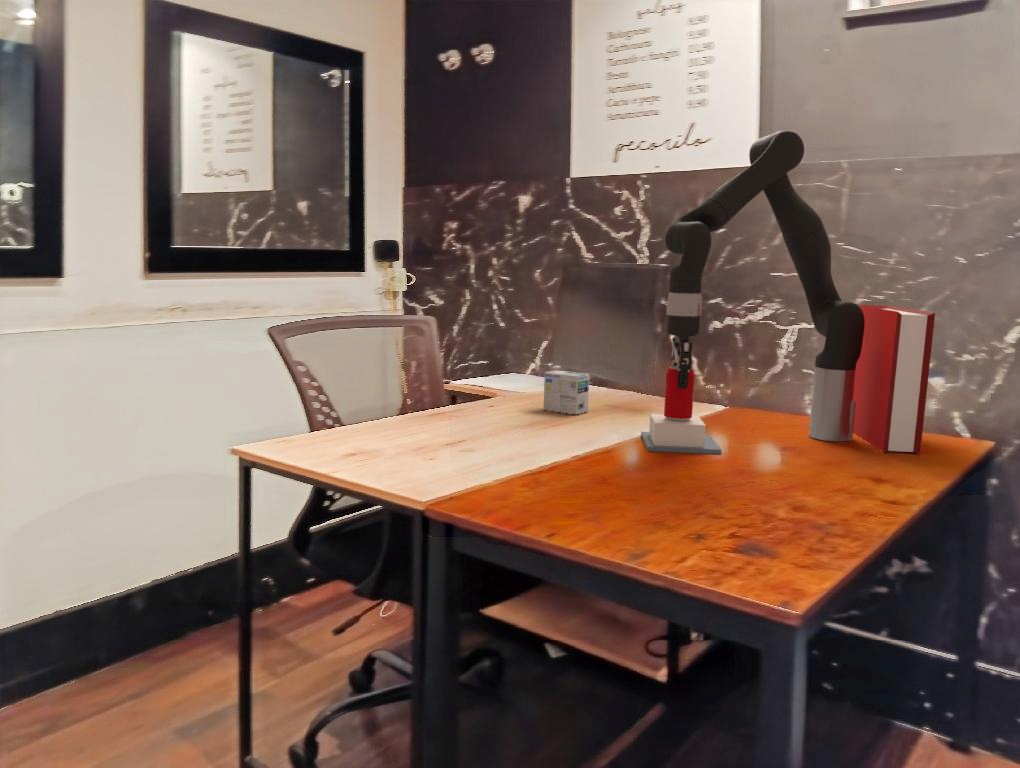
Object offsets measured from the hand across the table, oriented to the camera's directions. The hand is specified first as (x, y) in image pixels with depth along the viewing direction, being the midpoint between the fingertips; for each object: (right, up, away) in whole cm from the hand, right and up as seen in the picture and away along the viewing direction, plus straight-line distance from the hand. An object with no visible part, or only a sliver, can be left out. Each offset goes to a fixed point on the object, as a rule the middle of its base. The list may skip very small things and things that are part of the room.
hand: (679, 385), depth 189 cm
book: (+51, -14, +14) cm, 55 cm away
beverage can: (0, -8, +1) cm, 8 cm away
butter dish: (+1, -14, +3) cm, 14 cm away
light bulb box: (-23, -7, +40) cm, 47 cm away
